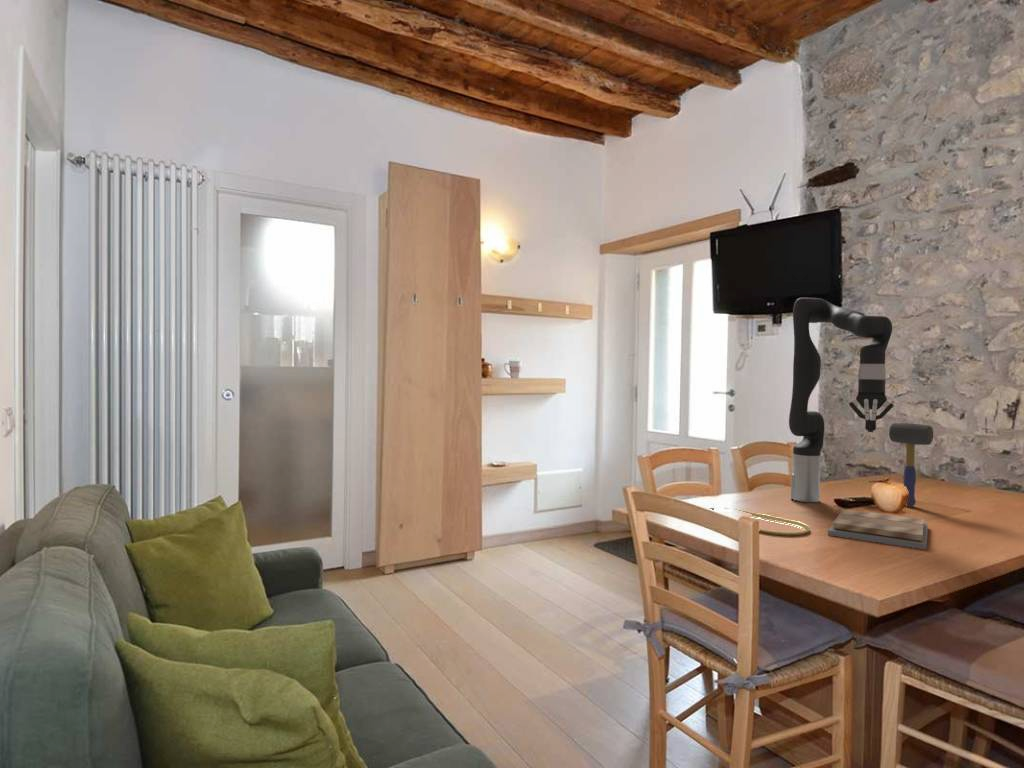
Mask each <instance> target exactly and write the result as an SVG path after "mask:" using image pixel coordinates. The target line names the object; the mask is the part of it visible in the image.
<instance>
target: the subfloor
mask: <svg viewBox="0 0 1024 768" xmlns="http://www.w3.org/2000/svg"><path fill="white" fill-rule="evenodd" d="M841 512H842V511H840V513H841ZM840 513H839V514H838V515H837V517H836V518H835V520H836V519H844V520H851V521H858V522H866V523H873V524H881V525H888V526H895V527H903V528H910V529H917V530H923V538H922V541H919V540H912V539H905V538H898V537H891V536H884V535H877V534H870V533H863V532H856V531H849V530H842V529H835V528H833V523H832V524H831V526H830V527H829V528H828V530H827V536H829V537H836V536H838V537H837V538H843V537H845V539H849V538H852V540H856V539H858V540H857V541H863V542H864V541H865V542H869V541H871V542H870V543H876V542H878V543H877V544H883V543H884V544H883V545H889V546H896V545H897V547H903V546H906V547H905V548H909V547H912V548H911V549H916V548H918V549H917V550H922V549H925V550H924V551H927V544H928V543H927V542H928V529H929V528H928V527H929V525H928V524H929V523H926V522H924V528H923V525H922V524H914V523H906V522H899V521H891V520H883V519H876V518H868V517H861V516H853V515H845V514H840ZM835 520H834V521H835Z"/></svg>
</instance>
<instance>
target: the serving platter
mask: <svg viewBox="0 0 1024 768" xmlns="http://www.w3.org/2000/svg"><path fill="white" fill-rule="evenodd" d="M709 508H710V509H712V510H714V508H715V507H709ZM724 508H725V509H731V508H727V507H724ZM734 509H735V510H739V511H743V512H746V513H750V514H752V516H754V517H758V518H757V519H759V520H760V519H761V518H765V519H771V520H775V521H780V522H784V523H788V524H787V525H789V524H792V525H791V526H793V525H795V526H794V527H796V526H798V527H797V528H799V527H800V528H799V529H801V528H803V529H804V530H803V529H802V530H803V531H798V532H786V531H785V532H781V531H773V530H767V529H762V528H759V529H760V532H759V533H760V534H761V533H762V534H765V535H766V534H767V535H771V534H772V536H782V537H796V536H797V537H798V536H802V535H805V534H807V533H809V532H810V530H811V527H810V526H809V525H808V524H806V523H803V522H801V521H797V520H794V519H788V518H784V517H783V518H782V517H777V516H773V515H768V514H763V513H759V512H752V511H749V510H744V509H743V510H741V509H736V508H734ZM754 517H753V518H754ZM761 520H762V519H761ZM784 523H783V524H784Z"/></svg>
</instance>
